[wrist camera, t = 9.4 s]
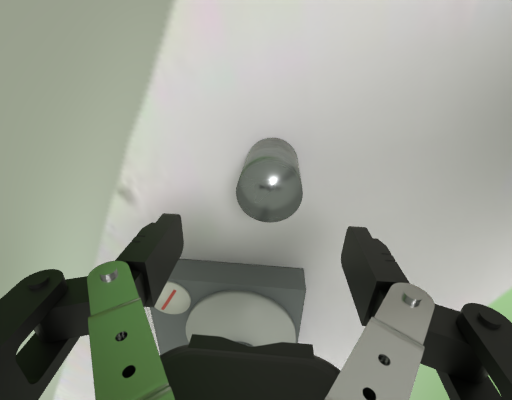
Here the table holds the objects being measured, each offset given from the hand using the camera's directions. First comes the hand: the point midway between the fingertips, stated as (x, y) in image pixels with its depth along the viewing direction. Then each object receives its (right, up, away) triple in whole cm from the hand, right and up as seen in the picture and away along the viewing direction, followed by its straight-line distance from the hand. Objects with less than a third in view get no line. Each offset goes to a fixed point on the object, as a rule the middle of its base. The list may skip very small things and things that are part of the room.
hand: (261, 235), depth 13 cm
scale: (-3, -11, +18) cm, 22 cm away
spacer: (+1, +5, +10) cm, 11 cm away
